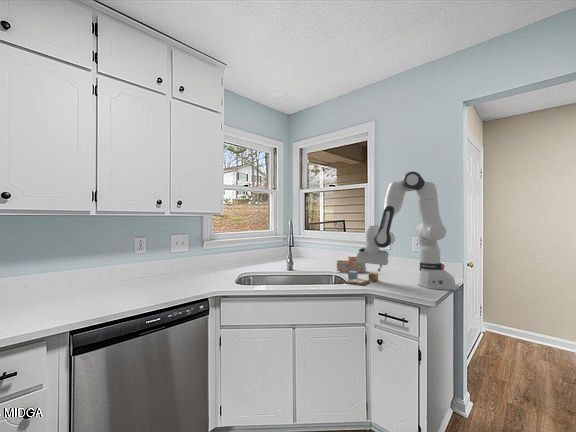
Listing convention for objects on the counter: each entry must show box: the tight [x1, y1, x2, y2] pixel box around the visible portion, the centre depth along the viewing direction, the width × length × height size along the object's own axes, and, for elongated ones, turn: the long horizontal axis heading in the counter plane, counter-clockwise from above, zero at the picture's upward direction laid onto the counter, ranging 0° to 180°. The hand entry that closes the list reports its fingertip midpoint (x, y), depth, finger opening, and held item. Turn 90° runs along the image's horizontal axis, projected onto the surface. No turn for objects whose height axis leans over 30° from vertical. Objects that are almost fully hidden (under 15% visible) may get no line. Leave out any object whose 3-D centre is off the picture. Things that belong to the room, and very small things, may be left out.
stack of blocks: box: [336, 255, 366, 273], centre depth 232 cm, size 21×6×12 cm, turn 85°
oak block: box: [367, 272, 379, 283], centre depth 197 cm, size 5×5×5 cm
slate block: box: [347, 271, 359, 280], centre depth 204 cm, size 5×5×5 cm
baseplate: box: [345, 278, 370, 287], centre depth 191 cm, size 12×11×1 cm
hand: (371, 270), depth 197 cm, fingers open, 8 cm apart
